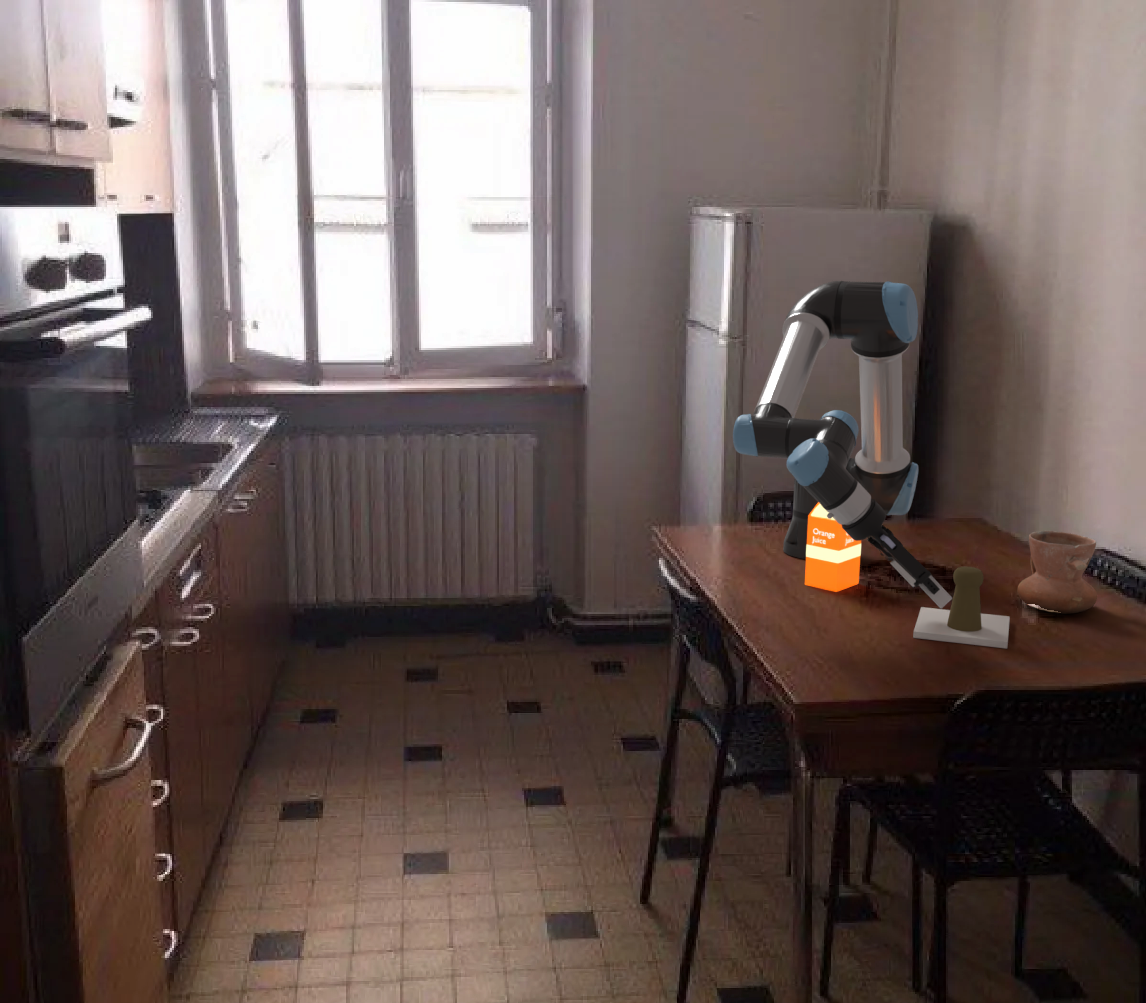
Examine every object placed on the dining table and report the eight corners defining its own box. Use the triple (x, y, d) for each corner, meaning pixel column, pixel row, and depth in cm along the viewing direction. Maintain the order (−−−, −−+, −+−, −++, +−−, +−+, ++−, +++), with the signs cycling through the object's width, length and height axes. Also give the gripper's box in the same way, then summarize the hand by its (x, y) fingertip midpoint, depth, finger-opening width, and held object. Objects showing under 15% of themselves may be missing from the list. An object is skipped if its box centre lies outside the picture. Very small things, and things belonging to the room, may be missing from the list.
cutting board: (913, 637, 225) (913, 631, 225) (920, 613, 240) (921, 607, 240) (1007, 648, 220) (1007, 642, 220) (1009, 622, 235) (1009, 616, 234)
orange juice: (859, 583, 260) (865, 489, 255) (836, 592, 253) (842, 495, 249) (826, 576, 265) (831, 483, 261) (803, 584, 259) (808, 489, 254)
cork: (983, 624, 230) (988, 565, 227) (979, 633, 224) (984, 573, 222) (949, 619, 232) (954, 562, 230) (944, 628, 227) (949, 569, 224)
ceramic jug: (1113, 620, 237) (1121, 547, 234) (1039, 621, 235) (1046, 547, 233) (1067, 595, 254) (1074, 526, 252) (998, 595, 253) (1004, 526, 250)
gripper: (820, 511, 235) (892, 587, 240) (863, 543, 211) (942, 627, 216) (849, 483, 235) (921, 560, 239) (896, 512, 211) (975, 597, 215)
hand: (931, 592), depth 228 cm, fingers open, 13 cm apart
